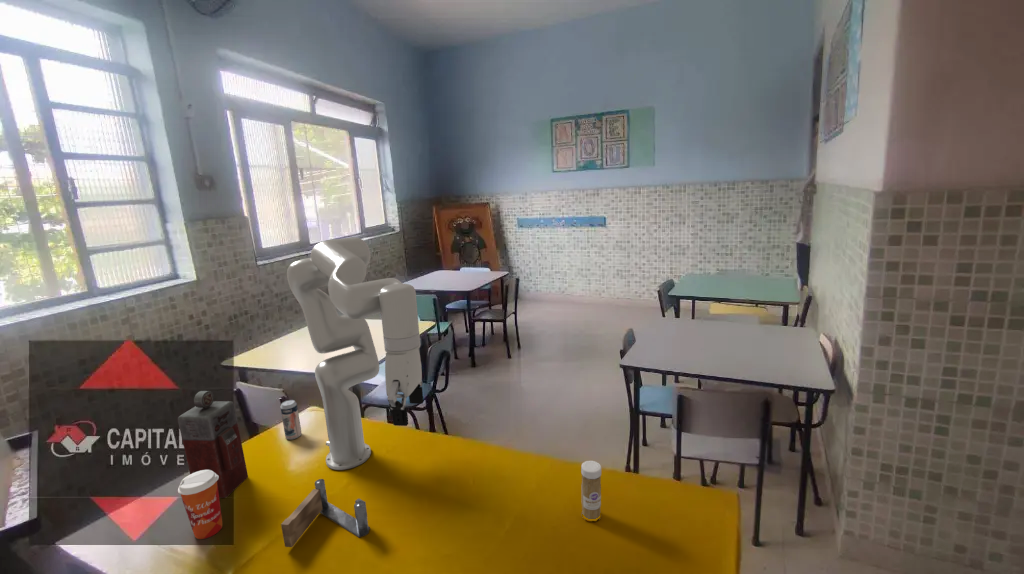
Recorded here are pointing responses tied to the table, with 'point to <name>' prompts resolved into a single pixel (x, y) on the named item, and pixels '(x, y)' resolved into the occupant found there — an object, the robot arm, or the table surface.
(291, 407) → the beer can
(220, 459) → the vintage gas pump
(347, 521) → the gate posts
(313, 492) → the gate
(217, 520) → the paper cup
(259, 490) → the table surface
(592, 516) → the sprinkles bottle
